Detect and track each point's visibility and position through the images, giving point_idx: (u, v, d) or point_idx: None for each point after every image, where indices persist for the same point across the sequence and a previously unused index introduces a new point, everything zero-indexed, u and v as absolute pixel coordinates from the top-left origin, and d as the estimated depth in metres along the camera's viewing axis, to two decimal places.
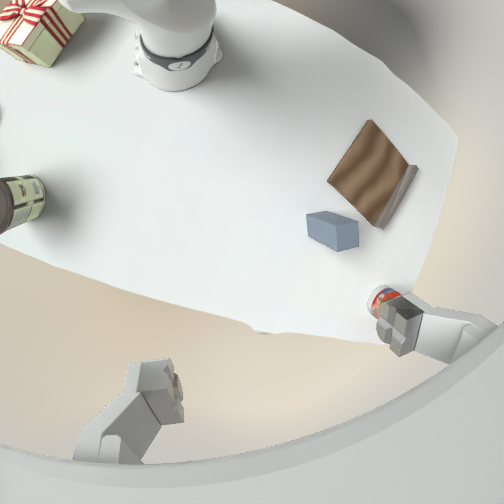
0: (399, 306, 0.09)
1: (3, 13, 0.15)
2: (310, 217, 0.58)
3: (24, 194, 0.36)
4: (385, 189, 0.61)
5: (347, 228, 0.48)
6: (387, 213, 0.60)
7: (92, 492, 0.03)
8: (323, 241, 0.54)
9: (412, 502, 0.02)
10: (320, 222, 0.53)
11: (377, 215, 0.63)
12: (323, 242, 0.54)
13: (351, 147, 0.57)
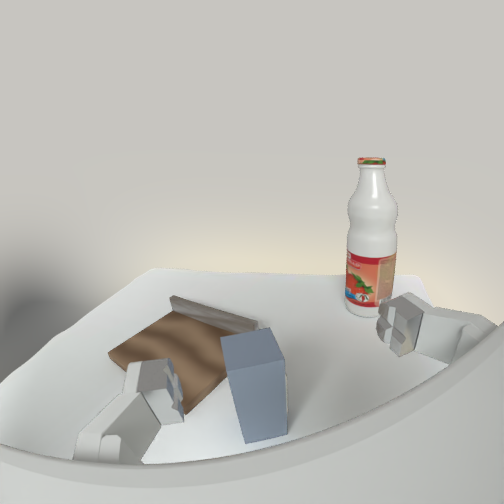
0: (399, 306, 0.09)
1: None
2: (245, 435, 0.25)
3: None
4: (203, 333, 0.45)
5: (233, 351, 0.24)
6: (233, 322, 0.44)
7: (92, 492, 0.03)
8: (279, 399, 0.24)
9: (412, 502, 0.02)
10: (242, 412, 0.23)
11: None
12: (282, 399, 0.24)
13: None
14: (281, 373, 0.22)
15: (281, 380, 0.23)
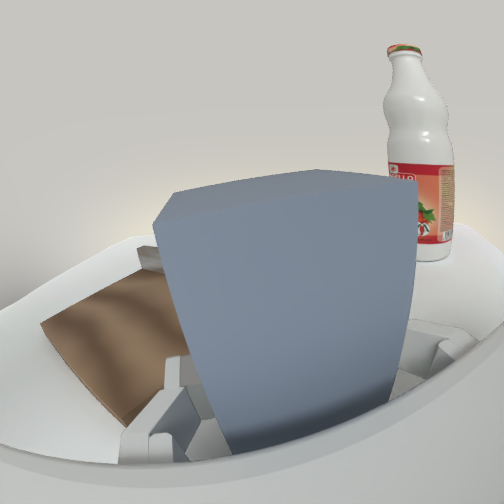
0: None
1: None
2: None
3: None
4: None
5: (206, 194, 0.06)
6: None
7: (92, 492, 0.03)
8: (375, 389, 0.06)
9: (412, 502, 0.02)
10: (249, 446, 0.06)
11: None
12: (383, 385, 0.06)
13: (66, 361, 0.18)
14: (405, 262, 0.05)
15: (400, 301, 0.05)
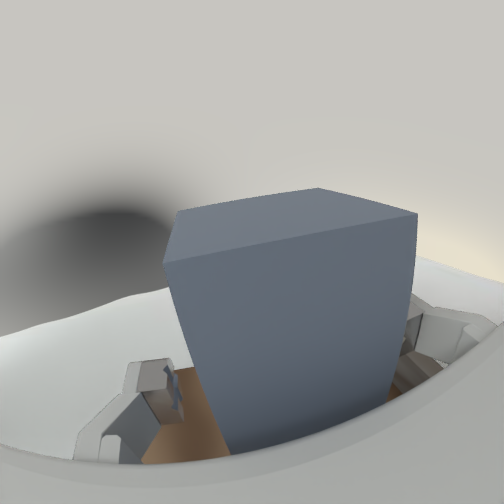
0: None
1: None
2: None
3: None
4: None
5: (211, 220, 0.07)
6: None
7: (92, 492, 0.03)
8: (369, 402, 0.07)
9: (412, 502, 0.02)
10: None
11: None
12: (377, 399, 0.07)
13: None
14: (401, 290, 0.05)
15: (395, 325, 0.06)
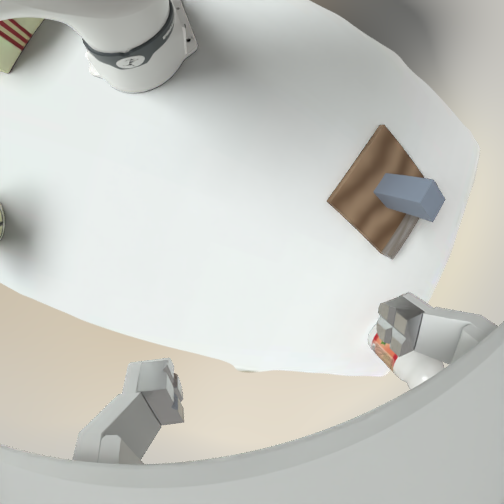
0: (399, 306, 0.09)
1: None
2: (380, 194, 0.46)
3: None
4: (397, 211, 0.50)
5: (429, 195, 0.36)
6: (398, 240, 0.50)
7: (92, 492, 0.03)
8: (409, 212, 0.42)
9: (412, 502, 0.02)
10: (396, 198, 0.42)
11: (386, 241, 0.52)
12: (410, 213, 0.43)
13: (358, 159, 0.46)
14: (425, 218, 0.39)
15: (421, 217, 0.40)
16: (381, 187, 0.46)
